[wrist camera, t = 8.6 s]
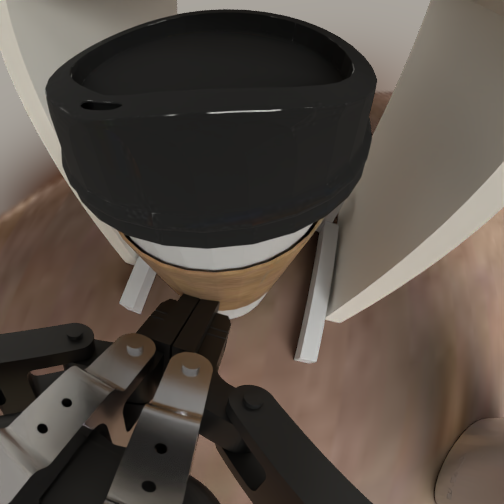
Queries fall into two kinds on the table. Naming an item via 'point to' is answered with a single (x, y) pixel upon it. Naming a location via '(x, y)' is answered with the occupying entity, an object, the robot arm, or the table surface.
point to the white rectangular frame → (376, 166)
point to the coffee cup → (215, 143)
